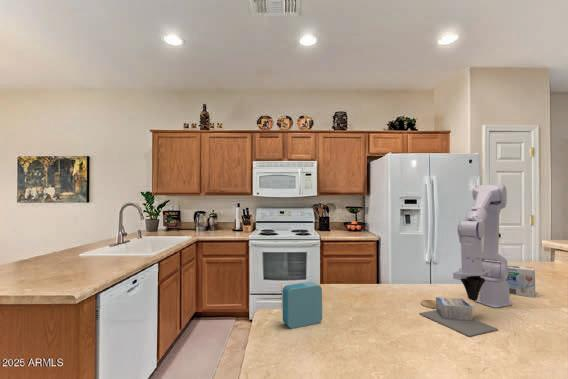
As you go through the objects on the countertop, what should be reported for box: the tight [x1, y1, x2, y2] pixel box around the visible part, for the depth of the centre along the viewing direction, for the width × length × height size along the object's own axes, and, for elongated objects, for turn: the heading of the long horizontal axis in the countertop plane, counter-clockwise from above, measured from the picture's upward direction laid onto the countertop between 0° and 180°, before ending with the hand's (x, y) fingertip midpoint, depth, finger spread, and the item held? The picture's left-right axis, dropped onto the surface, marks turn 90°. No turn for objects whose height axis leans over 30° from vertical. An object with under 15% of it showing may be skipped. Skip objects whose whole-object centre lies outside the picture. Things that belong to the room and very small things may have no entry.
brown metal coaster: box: [420, 299, 437, 310], centre depth 108 cm, size 8×8×1 cm
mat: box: [418, 309, 499, 338], centre depth 93 cm, size 12×18×1 cm, turn 21°
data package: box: [281, 281, 323, 329], centre depth 93 cm, size 12×4×12 cm, turn 114°
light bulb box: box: [505, 264, 536, 299], centre depth 121 cm, size 11×7×11 cm, turn 49°
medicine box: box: [435, 296, 473, 320], centre depth 98 cm, size 8×4×9 cm
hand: (472, 299), depth 96 cm, fingers closed
